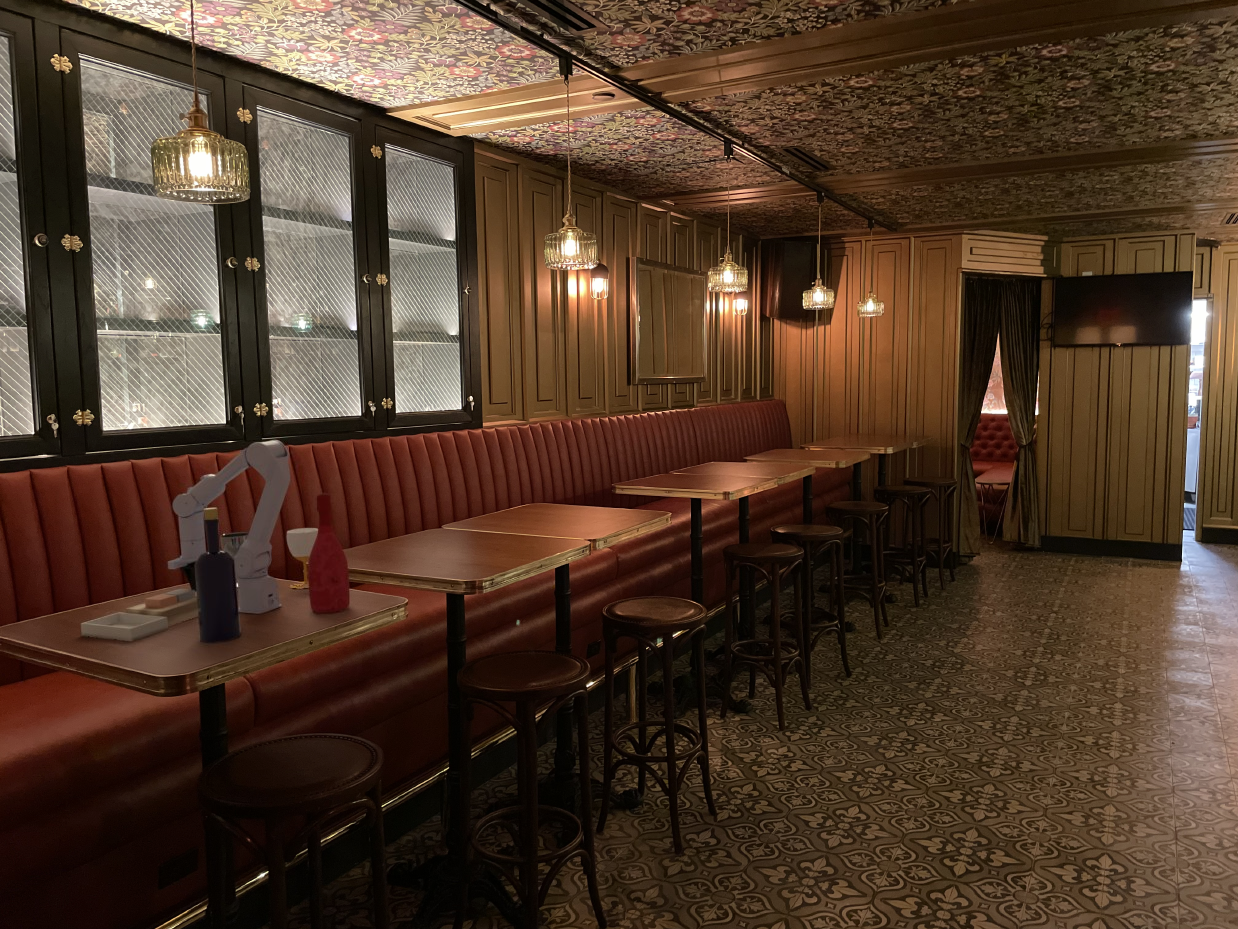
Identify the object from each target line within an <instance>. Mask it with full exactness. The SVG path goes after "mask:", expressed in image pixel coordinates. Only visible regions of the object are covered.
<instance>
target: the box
mask: <svg viewBox="0 0 1238 929" xmlns="http://www.w3.org/2000/svg"><path fill="white" fill-rule="evenodd" d="M80 630H81V636H82V637H88V636H89V637H88V638H96V637H97V639H105V640H106V639H107V640H114V639H117V641H123V640H124V641H126V642H134V641H137V640H141V639H143V638H147V637H149V636H151V635H155V634H158V633H161V632H164V631H168V630H169V626H168V621H167V617H162V616H151V615H141V614H131V613H126V612H120V611H119V612H115V613H113V614H108V615H105V616H101V617H99V618H95V619H92V620H88V621H85V622H81V623H80ZM160 631H161V632H160ZM124 641H123V642H124Z"/></svg>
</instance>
